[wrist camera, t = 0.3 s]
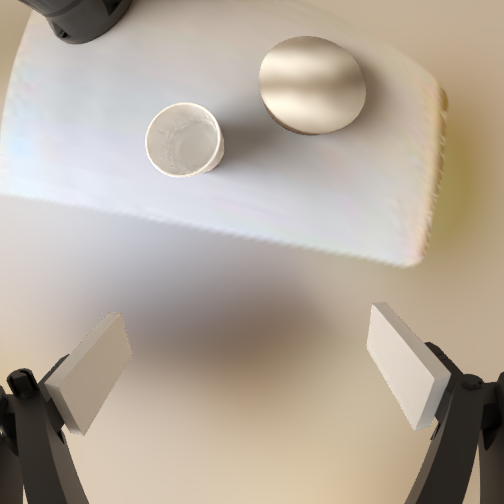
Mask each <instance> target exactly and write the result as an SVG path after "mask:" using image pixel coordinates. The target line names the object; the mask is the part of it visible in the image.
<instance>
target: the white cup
mask: <svg viewBox="0 0 504 504" xmlns="http://www.w3.org/2000/svg"><path fill="white" fill-rule="evenodd" d="M146 151H147V154H148V157H149V159H150V161H151V162H152V164H153V165H154V166H155V167H156V168H157V169H158V170H159V171H161V172H162V173H164V174H166V175H169V176H172V177H188V176H195V175H200V174H203V173H206V172H208V171H211V170H212V169H213V168H214V167H216V166H217V165H218V164H219V163H220V161H221V159H222V157H223V155H224V138H223V134H222V132H221V129H220V127H219V124H218V122H217V120H216V118H215V117H214V115H213V114H212V113H211V112H210V111H209V110H208V109H206V108H205V107H203V106H201V105H199V104H195V103H190V102H182V103H176V104H173V105H171V106H168V107H167V108H165V109H163V110H162V111H161V112H159V113H158V114H157V115H156V117H155V118H154V119H153V120H152V122H151V124H150V126H149V128H148V131H147V134H146Z"/></svg>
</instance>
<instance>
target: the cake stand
mask: <svg viewBox="0 0 504 504" xmlns="http://www.w3.org/2000/svg"><path fill="white" fill-rule="evenodd" d="M259 88H260V93H261V96H262V98H263V101H264V104H265V107H266V109H267V111H268V112H269V114H270V115H271V117H272V118H273V119H274V120H275V121H276V122H277V123H278V124H279V125H281V126H282V127H284V128H285V129H287V130H289V131H292V132H294V133H297V134H302V135H318V134H325V133H330V132H334V131H337V130H339V129H341V128H343V127H345V126H346V125H348V124H349V123H351V122H352V121H353V120H354V119H355V118H356V117H357V116H358V115H359V113H360V111H361V110H362V108H363V105H364V103H365V98H366V83H365V78H364V75H363V73H362V70H361V68H360V67H359V65H358V63H357V62H356V61H355V59H354V58H353V57H352V56H351V55H350V54H349V53H348V52H347V51H346V50H344V49H343V48H342V47H340V46H339V45H337V44H335V43H333V42H331V41H328V40H326V39H322V38H318V37H311V36H301V37H295V38H291V39H288V40H285V41H283V42H281V43H279V44H278V45H276V46H275V47H274V48H272V49H271V50H270V51H269V52H268V54H267V55H266V57H265V58H264V60H263V62H262V64H261V68H260V72H259Z"/></svg>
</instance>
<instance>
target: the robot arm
mask: <svg viewBox="0 0 504 504" xmlns="http://www.w3.org/2000/svg"><path fill="white" fill-rule="evenodd" d="M18 1H20V2H22V3H24V4H26V5H27V6H29V7H30V8H32V9H34V10H35V11H37V12H39V13H40V14H42V15H43V16H45V17H46V19H47V21H48V22H49V24H50V26H51V28H52V30H53V32H54V34H55V35H56V36H57V37H58V38H59V39H61V40H62V41H64V42H66V43H68V44H81V43H85V42H88V41H91V40H93V39H95V38H97V37H99V36H100V35H102V34H103V33H105V32H106V31H108V30H109V29H110V28H111V27H112V26H114V25H115V24H116V23H117V22H118V21H119V20H120V19H121V17H122V16H123V15H124V14H125V12H126V11H127V9H128V7H129V6H130V4H131V1H132V0H18ZM367 349H368V351H369V353H370V355H371V356H372V358H373V360H374V361H375V363H376V365H377V366H378V368H379V370H380V372H381V373H382V375H383V377H384V378H385V380H386V382H387V383H388V385H389V387H390V389H391V391H392V392H393V394H394V396H395V398H396V399H397V401H398V403H399V405H400V406H401V408H402V410H403V412H404V414H405V415H406V417H407V419H408V421H409V423H410V424H411V426H412V428H413V430H414V431H417V430H420V429H423V428H427V427H430V425H431V423H432V421H433V418H434V416H435V417H436V419H437V420H438V422H439V423H438V425H437V427H436V429H435V431H434V433H433V435H432V437H431V440H432V441H431V444H430V446H429V449H428V452H427V454H426V457H425V459H424V462H423V464H422V467H421V469H420V472H419V474H418V476H417V478H416V481H415V483H414V485H413V487H412V489H411V491H410V494H409V496H408V498H407V500H406V502H405V504H462V502H463V500H464V497H465V493H466V490H467V486H468V483H469V479H470V476H471V472H472V467H473V463H474V459H475V454H476V450H477V445H478V447H479V460H480V504H504V372H502V373H501V374H500V376H499V378H498V380H497V382H490V383H484V382H483V380H482V379H481V378H479V377H478V376H475V375H472V374H463V373H462V372H461V371H460V370H459V369H458V367H457V366H456V365H455V364H454V363H453V362H452V361H451V360H450V359H448V357H447V356H446V355H445V354H444V352H443V351H442V350H441V349H440V348H439V347H438V346H436V345H434V344H432V343H431V342H426V343H423V341H421V339H420V338H419V337H418V336H417V335H416V334H415V333H414V332H413V331H412V329H411V328H410V327H409V326H408V325H407V324H406V323H405V322H404V321H403V320H402V319H401V318H400V317H399V316H398V315H397V313H396V312H395V311H394V310H393V309H392V308H391V307H390V306H389V305H388V304H387V303H386V302H379V303H372V309H371V318H370V326H369V333H368V341H367ZM131 357H132V352H131V348H130V344H129V341H128V336H127V332H126V328H125V325H124V320H123V316H122V313H119V312H118V313H117V312H110V313H109V314H108V315H107V316H106V317H105V318H104V319H103V320H102V321H101V322H100V323H99V324H98V325H97V326H96V327H95V328H94V329H93V330H92V332H90V334H89V335H87V337H86V338H85V339H84V340H83V341H82V342H81V343H80V344H79V345H78V346H77V347H76V348H75V349H74V351H73V352H72V353H71V354H68V355H66V356H64V357H63V358H61V359H60V360H59V361H58V362H57V363H56V364H55V366H53V367H52V369H51V371H49V372H48V373H47V374H46V375H45V376H44V377H43V378H42V380H41V381H40V382H39V383H38V384H37V382H36V380H35V378H34V376H33V373H32V371H31V370H29V369H25V368H23V369H18V370H16V371H14V372H12V373H11V374H10V375H9V376H8V377H7V383H8V385H9V387H10V389H11V391H12V392H13V394H6V393H5V391H4V389H3V387H2V386H0V429H1V431H2V435H1V433H0V504H23V484H24V489H25V493H26V498H27V502H28V504H89V502H88V500H87V498H86V495H85V493H84V490H83V488H82V485H81V483H80V480H79V478H78V476H77V472H76V469H75V467H74V464H73V461H72V458H71V455H70V452H69V448H68V445H67V442H66V439H65V435H64V433H63V431H62V429H61V428H62V426H63V425H64V423H65V425H66V426H67V428H68V430H69V431H70V433H73V434H77V435H81V436H85V434H86V432H87V431H88V429H89V427H90V425H91V423H92V422H93V420H94V418H95V417H96V415H97V413H98V412H99V410H100V408H101V406H102V405H103V403H104V401H105V400H106V398H107V396H108V395H109V393H110V391H111V390H112V388H113V387H114V385H115V383H116V382H117V380H118V378H119V377H120V375H121V373H122V372H123V370H124V369H125V367H126V365H127V364H128V362H129V361H130V359H131Z"/></svg>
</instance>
